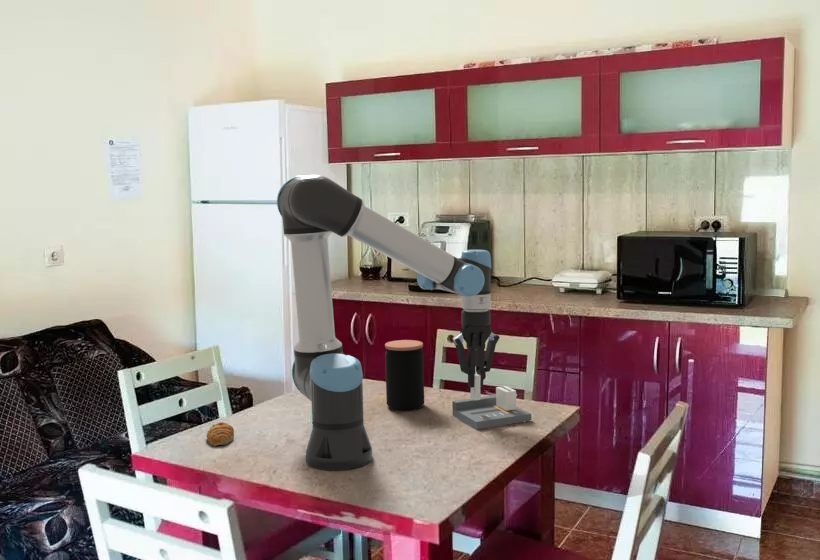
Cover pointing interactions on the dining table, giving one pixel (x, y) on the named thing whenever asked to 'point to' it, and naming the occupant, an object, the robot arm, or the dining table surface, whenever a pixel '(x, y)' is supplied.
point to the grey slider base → (487, 413)
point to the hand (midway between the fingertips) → (475, 398)
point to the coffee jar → (404, 375)
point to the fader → (506, 398)
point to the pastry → (220, 434)
